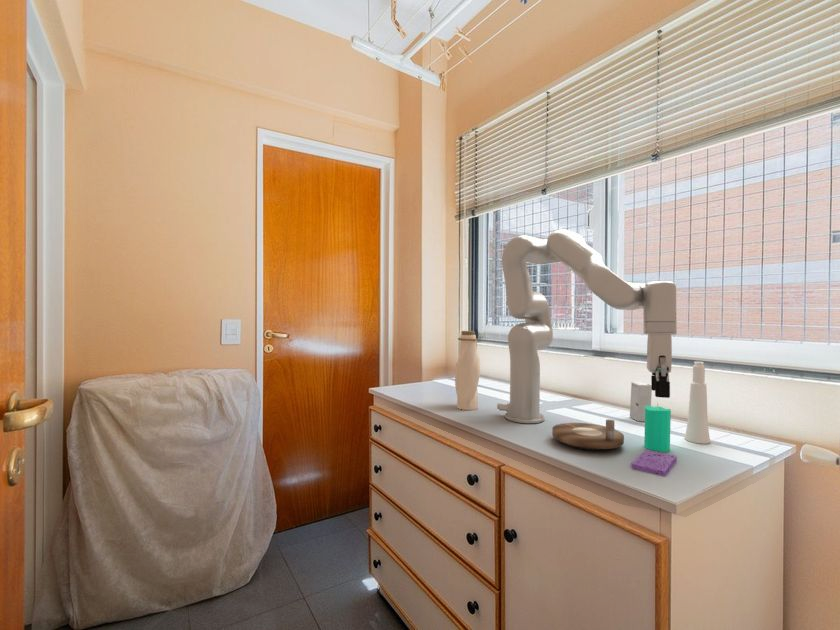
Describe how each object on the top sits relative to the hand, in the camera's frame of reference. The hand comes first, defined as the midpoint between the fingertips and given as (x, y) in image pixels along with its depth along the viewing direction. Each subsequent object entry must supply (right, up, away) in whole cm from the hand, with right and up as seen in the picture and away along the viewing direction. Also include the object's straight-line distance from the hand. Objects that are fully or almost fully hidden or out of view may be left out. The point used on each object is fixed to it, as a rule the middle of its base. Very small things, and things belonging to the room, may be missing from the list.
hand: (660, 393), depth 110 cm
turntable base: (-18, -14, +4) cm, 23 cm away
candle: (-1, -15, +1) cm, 15 cm away
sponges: (-8, -15, -11) cm, 21 cm away
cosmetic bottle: (+14, -15, +7) cm, 22 cm away
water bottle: (-46, -13, +44) cm, 65 cm away
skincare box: (+10, -14, +29) cm, 34 cm away
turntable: (-18, -13, +4) cm, 22 cm away
